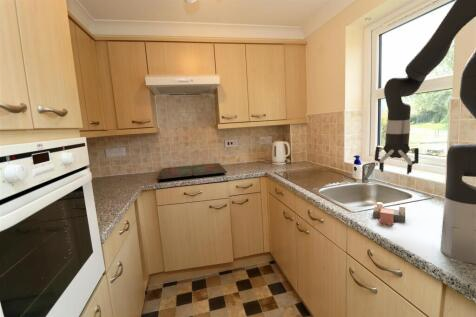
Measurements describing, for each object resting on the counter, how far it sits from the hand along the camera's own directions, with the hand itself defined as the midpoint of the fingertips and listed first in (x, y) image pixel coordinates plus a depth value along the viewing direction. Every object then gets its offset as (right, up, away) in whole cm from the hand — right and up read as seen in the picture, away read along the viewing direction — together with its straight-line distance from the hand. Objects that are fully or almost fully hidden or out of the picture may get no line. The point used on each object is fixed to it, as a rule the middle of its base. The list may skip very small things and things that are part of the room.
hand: (394, 172), depth 93 cm
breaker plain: (+5, -16, +2) cm, 17 cm away
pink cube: (-3, -20, +1) cm, 20 cm away
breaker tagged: (-2, -16, +7) cm, 18 cm away
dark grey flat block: (+1, -19, +5) cm, 20 cm away
